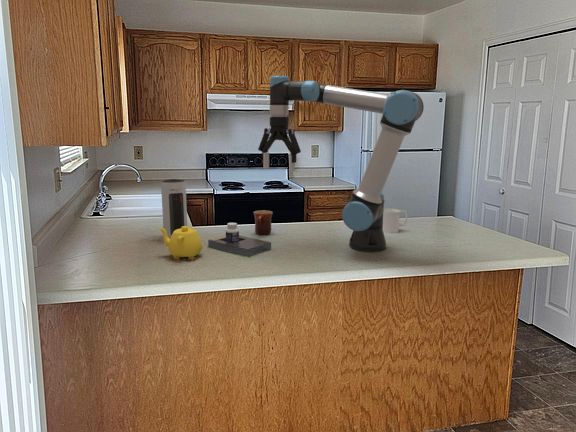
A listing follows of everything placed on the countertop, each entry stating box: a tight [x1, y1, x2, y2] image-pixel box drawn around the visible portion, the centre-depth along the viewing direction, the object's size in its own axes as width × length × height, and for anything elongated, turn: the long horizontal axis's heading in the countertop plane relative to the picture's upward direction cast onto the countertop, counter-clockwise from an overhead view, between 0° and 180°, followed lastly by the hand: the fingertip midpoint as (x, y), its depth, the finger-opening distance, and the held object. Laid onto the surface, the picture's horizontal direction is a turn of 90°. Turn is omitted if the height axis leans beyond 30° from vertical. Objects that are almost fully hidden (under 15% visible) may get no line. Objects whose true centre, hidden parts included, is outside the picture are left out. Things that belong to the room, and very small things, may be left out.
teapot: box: [158, 225, 203, 261], centre depth 185 cm, size 14×14×12 cm
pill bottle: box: [225, 222, 240, 243], centre depth 200 cm, size 5×5×10 cm
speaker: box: [160, 178, 188, 239], centre depth 210 cm, size 11×10×26 cm
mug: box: [253, 209, 274, 236], centre depth 220 cm, size 12×9×10 cm
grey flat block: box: [207, 234, 272, 258], centre depth 198 cm, size 22×14×3 cm, turn 51°
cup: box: [383, 208, 408, 234], centre depth 230 cm, size 8×12×10 cm
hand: (278, 169), depth 197 cm, fingers open, 13 cm apart
